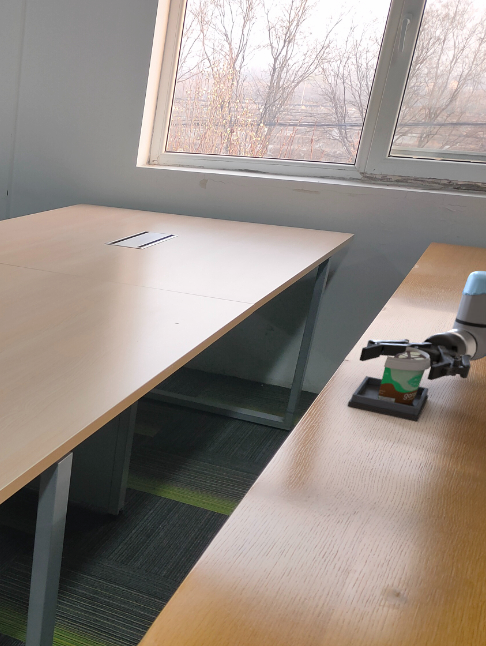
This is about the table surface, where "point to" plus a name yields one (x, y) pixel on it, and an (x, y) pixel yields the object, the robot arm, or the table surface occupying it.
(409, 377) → the food container
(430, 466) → the table surface
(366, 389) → the pad
